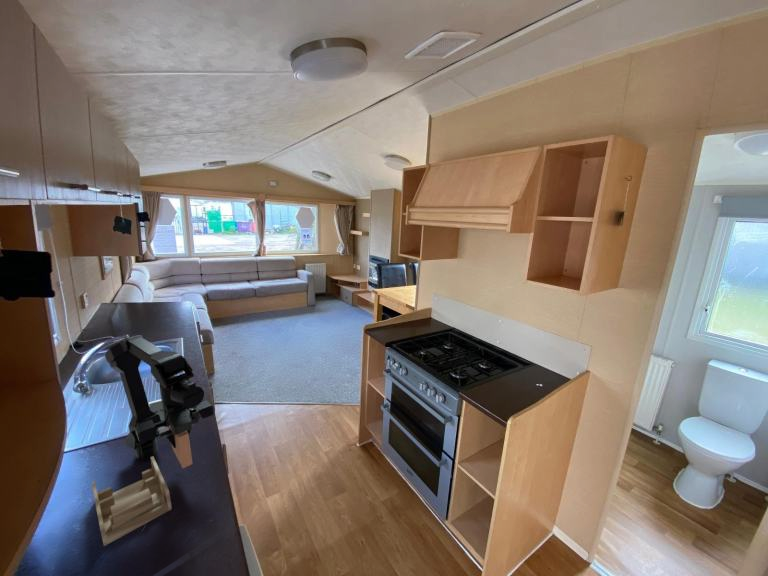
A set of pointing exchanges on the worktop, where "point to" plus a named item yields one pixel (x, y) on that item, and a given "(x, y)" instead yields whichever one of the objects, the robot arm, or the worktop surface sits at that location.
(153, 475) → the rack
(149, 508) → the offcut lower
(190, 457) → the orange tan rectangular slab
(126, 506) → the offcut upper
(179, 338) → the worktop surface
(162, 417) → the picture frame
